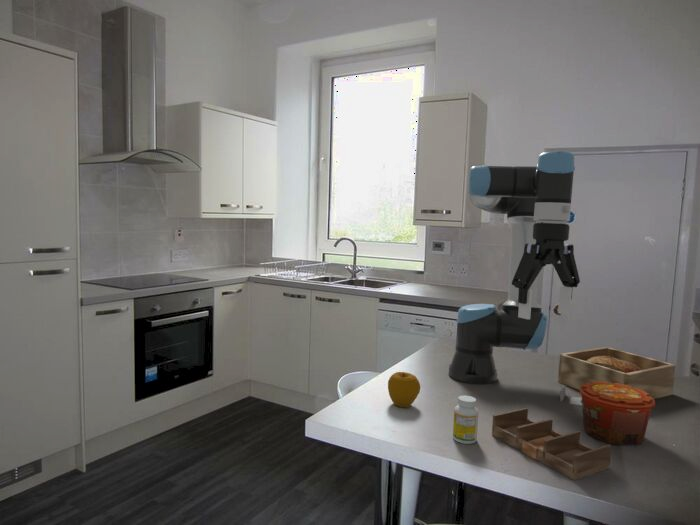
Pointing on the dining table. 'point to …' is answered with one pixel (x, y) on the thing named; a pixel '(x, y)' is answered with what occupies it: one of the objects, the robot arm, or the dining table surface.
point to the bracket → (573, 400)
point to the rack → (550, 444)
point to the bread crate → (650, 379)
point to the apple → (403, 388)
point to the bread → (614, 364)
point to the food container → (615, 412)
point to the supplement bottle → (465, 420)
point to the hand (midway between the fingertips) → (544, 316)
